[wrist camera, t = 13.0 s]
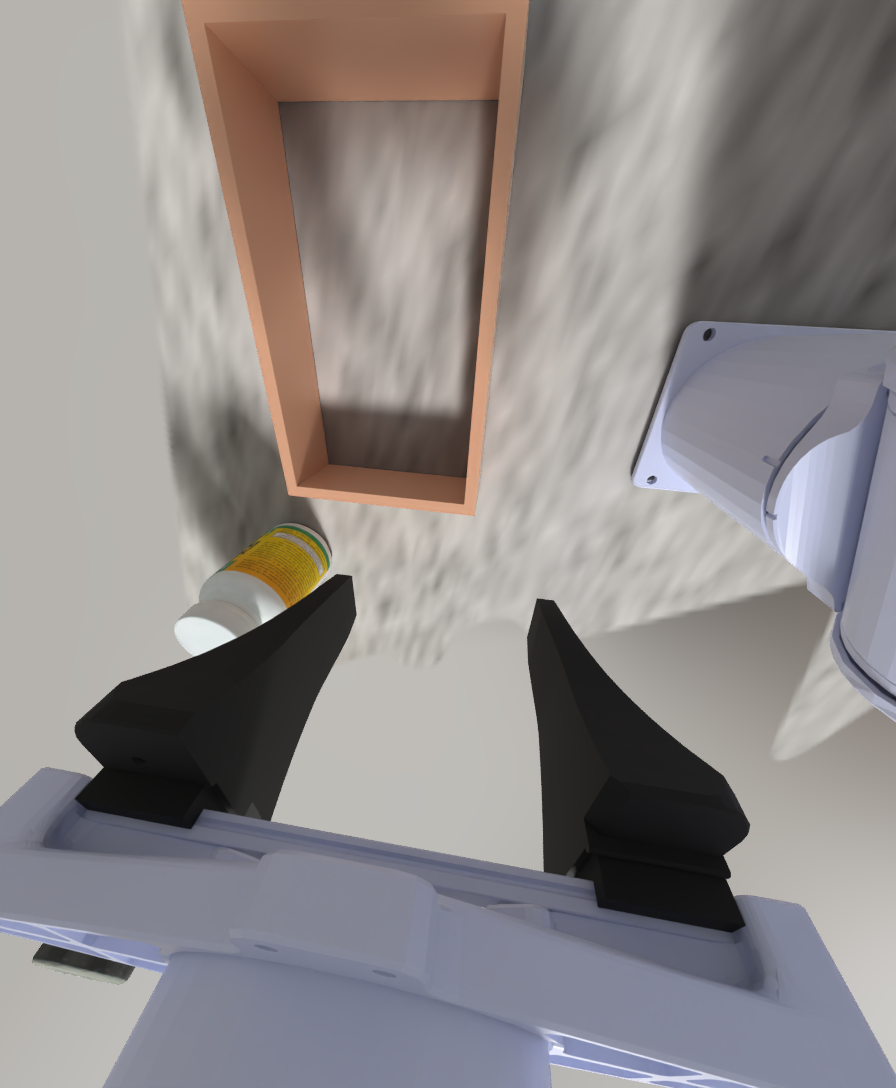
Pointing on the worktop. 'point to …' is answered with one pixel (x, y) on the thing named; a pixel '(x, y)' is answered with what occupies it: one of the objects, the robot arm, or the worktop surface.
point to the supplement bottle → (255, 587)
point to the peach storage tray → (265, 199)
